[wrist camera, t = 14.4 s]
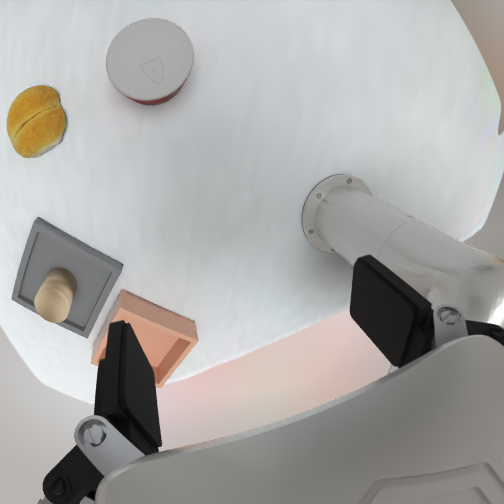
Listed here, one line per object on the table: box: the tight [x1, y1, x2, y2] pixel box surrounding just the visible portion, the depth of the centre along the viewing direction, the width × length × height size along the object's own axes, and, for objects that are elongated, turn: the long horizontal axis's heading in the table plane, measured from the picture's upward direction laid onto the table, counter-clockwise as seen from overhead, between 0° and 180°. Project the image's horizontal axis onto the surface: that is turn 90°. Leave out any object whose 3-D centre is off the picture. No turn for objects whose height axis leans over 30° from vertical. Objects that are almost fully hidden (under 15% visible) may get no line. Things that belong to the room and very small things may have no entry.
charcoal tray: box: [12, 217, 123, 338], centre depth 35 cm, size 14×14×2 cm
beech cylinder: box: [34, 267, 77, 323], centre depth 33 cm, size 5×5×6 cm
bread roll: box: [7, 85, 66, 158], centre depth 25 cm, size 8×9×4 cm
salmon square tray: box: [91, 289, 198, 388], centre depth 42 cm, size 13×13×4 cm
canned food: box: [106, 18, 194, 105], centre depth 24 cm, size 8×8×11 cm
